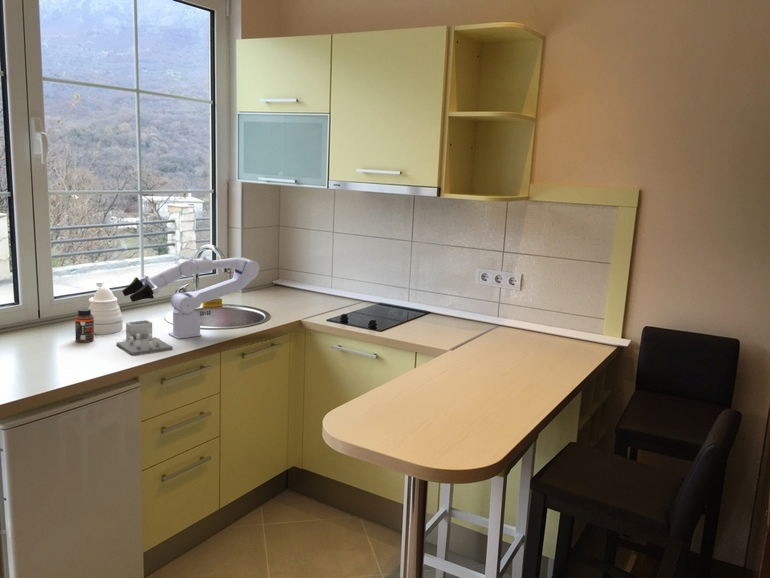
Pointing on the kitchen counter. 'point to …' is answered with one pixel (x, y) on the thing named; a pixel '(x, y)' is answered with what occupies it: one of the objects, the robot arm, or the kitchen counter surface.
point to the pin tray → (144, 345)
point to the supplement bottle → (84, 326)
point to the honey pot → (105, 311)
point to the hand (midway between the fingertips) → (127, 296)
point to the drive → (138, 329)
